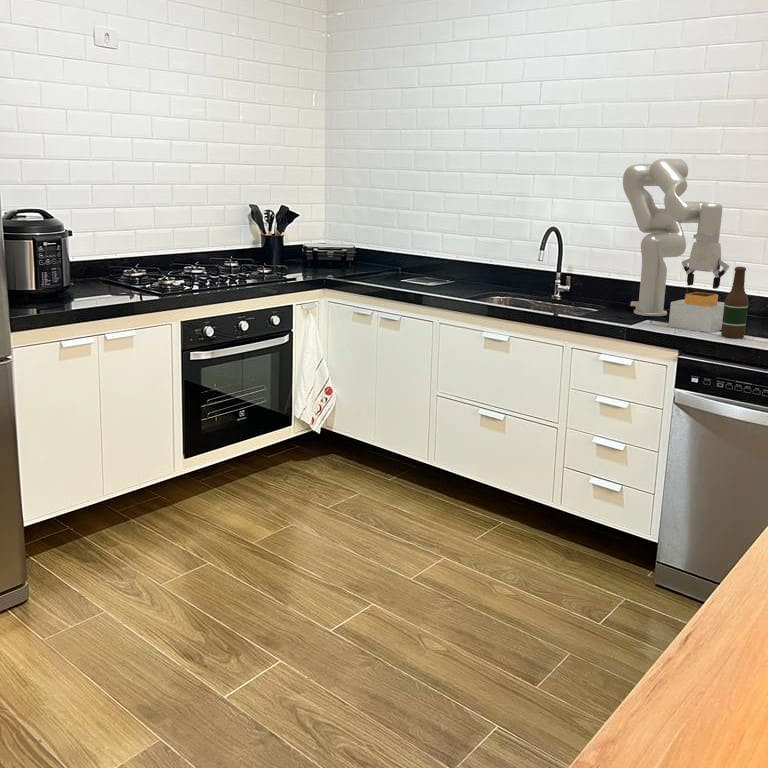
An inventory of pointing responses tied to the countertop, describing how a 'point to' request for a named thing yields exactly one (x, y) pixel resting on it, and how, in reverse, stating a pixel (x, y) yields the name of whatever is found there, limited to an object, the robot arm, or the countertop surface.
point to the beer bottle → (735, 307)
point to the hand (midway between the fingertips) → (702, 286)
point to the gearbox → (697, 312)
